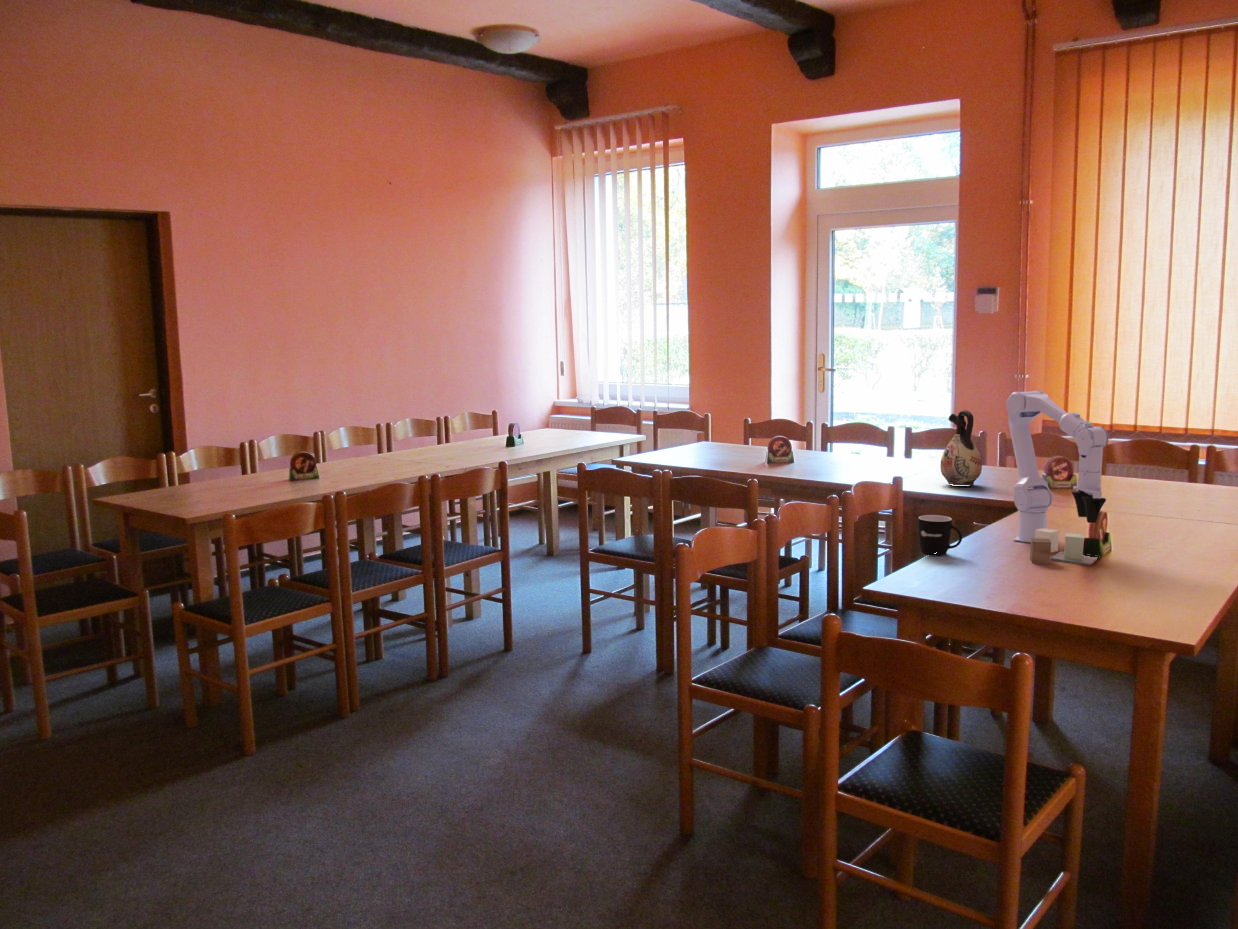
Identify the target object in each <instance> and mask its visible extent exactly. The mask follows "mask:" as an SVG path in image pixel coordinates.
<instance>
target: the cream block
mask: <svg viewBox="0 0 1238 929" xmlns="http://www.w3.org/2000/svg"><path fill="white" fill-rule="evenodd" d="M1059 534H1060V530H1059V529H1053V528H1048V527H1047V528H1041V529H1037V530H1035V538H1043V539H1050V541H1051V552H1053V553H1055V551H1056V552H1059V536H1060V535H1059Z"/></svg>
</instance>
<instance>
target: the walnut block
mask: <svg viewBox="0 0 1238 929" xmlns="http://www.w3.org/2000/svg"><path fill="white" fill-rule="evenodd" d="M1051 554H1052V553H1051V541H1050V539H1043V538H1031V543H1030V555H1029V560H1030V562H1032V563H1031V564H1037V563H1041V564H1040V565H1043V564H1044V565H1050V564H1051Z"/></svg>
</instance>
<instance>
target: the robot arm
mask: <svg viewBox="0 0 1238 929" xmlns="http://www.w3.org/2000/svg"><path fill="white" fill-rule="evenodd" d="M1005 405H1006V409H1007V410H1006V411H1007V414H1008V421H1007V422H1008V427H1009V432H1010V438H1011V443H1012V448H1013V453H1014V457H1015V463H1016V468H1017V471H1018V477H1019V480H1018V481H1017V483H1015V485H1014V486H1013V491H1014V494H1013V502H1014V506H1015V507H1016V508H1017V511H1018V528H1017V529H1018V530H1017V531H1018V532H1017V534H1018V535H1017V536H1016V537H1014V538H1013V541H1015V542H1024V543H1030V544H1031V538H1035V530H1037V529H1041V528H1048V515H1047V512H1048V511H1049V508H1050V507H1051V506H1052V504H1053V502H1054V501H1053V500H1054V499H1053V498H1054V497H1053V493H1052V491H1051V489H1050V488H1049V486H1048V482H1047V481H1046V480H1045V479H1043V478H1042V477H1041V476H1040V473H1039V468H1038V462H1037V456H1036V453H1035V448H1034V443H1033V438H1032V433H1031V428H1030V424H1031V422H1032V421H1033V420H1034V419H1035V418H1037V417H1038V416H1039V415H1040V414H1041V413H1042V414H1043V415H1044V416H1046V417H1048V418H1050V419H1052V420H1053V421H1055V422H1057V423H1058V424H1059V430H1061V431H1062V432H1064V433H1066V434H1067V435H1068V436H1070V437H1071V438H1072V439H1073V440H1074V441H1075V444H1076V446H1077V452H1078V456H1079V457H1078V472H1077V473H1078V475H1077V477H1078V478H1077V482H1076V485H1073V486H1072V489H1073V490H1075V491H1073V490H1072V491H1071V494H1072V496H1073V499H1074V501H1075V505H1076V506H1075V507H1076V512H1077V516H1078V518H1086V522H1087V523H1088V524H1090V523H1091V524H1096V523H1097V521H1098V519H1099V516H1100V511H1101V509H1102V507H1103V506H1104V504H1105V503H1106V500H1107V498H1105V497H1102V494H1103V492H1102V474H1103V472H1102V469H1103V468H1102V467H1103V458H1104V457H1103V456H1104V453H1103V452H1104V448H1105V447H1106V446H1107V444H1108V443H1109V441H1110V440H1109V439H1110V436H1109V433H1108V431H1107V429H1105V428H1104V427H1103V426H1102V425H1101V426H1100V425H1099V426H1095V425H1093V423H1092V422H1091V421H1089V422H1088V421H1087V420H1085V419H1084V418H1083V417H1081V414H1080V412H1079V413H1078V412H1069V413H1068V412H1066V410H1064V409H1063V408H1062V407H1060V406H1059V405H1057V403H1055V402H1054V401H1053V400H1052V399H1050V396H1049V394H1047V393H1045V392H1043V390H1042V391H1041V390H1033V391H1014V392H1011V394H1010V395H1009V396H1008V398H1007V399H1006V402H1005Z"/></svg>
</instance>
